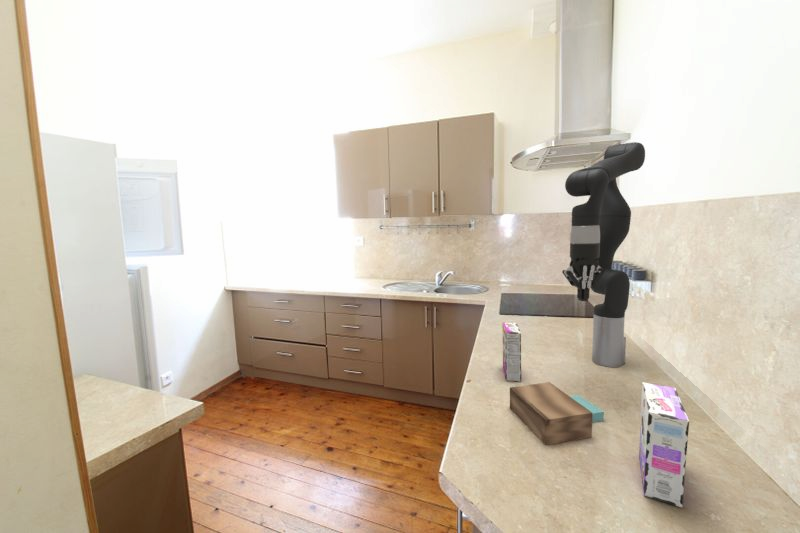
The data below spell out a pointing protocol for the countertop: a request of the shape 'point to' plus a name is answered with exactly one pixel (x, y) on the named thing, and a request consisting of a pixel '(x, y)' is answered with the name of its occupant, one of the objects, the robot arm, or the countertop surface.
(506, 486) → the countertop surface
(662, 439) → the candy box
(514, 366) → the candy bar box
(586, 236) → the robot arm
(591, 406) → the thin teal board
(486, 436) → the countertop surface
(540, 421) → the wood block
